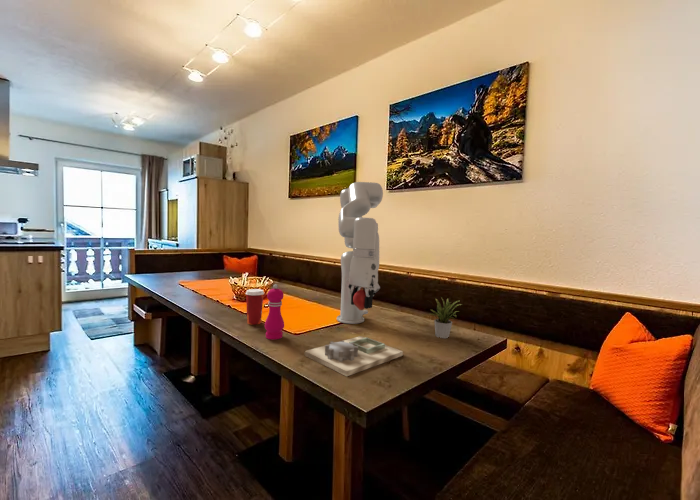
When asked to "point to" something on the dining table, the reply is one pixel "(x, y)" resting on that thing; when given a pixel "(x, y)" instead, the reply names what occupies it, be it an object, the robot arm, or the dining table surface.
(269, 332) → the pepper mill
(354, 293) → the robot arm
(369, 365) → the gear board
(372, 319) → the dining table surface
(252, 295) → the paper cup
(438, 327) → the house plant
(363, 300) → the onion
